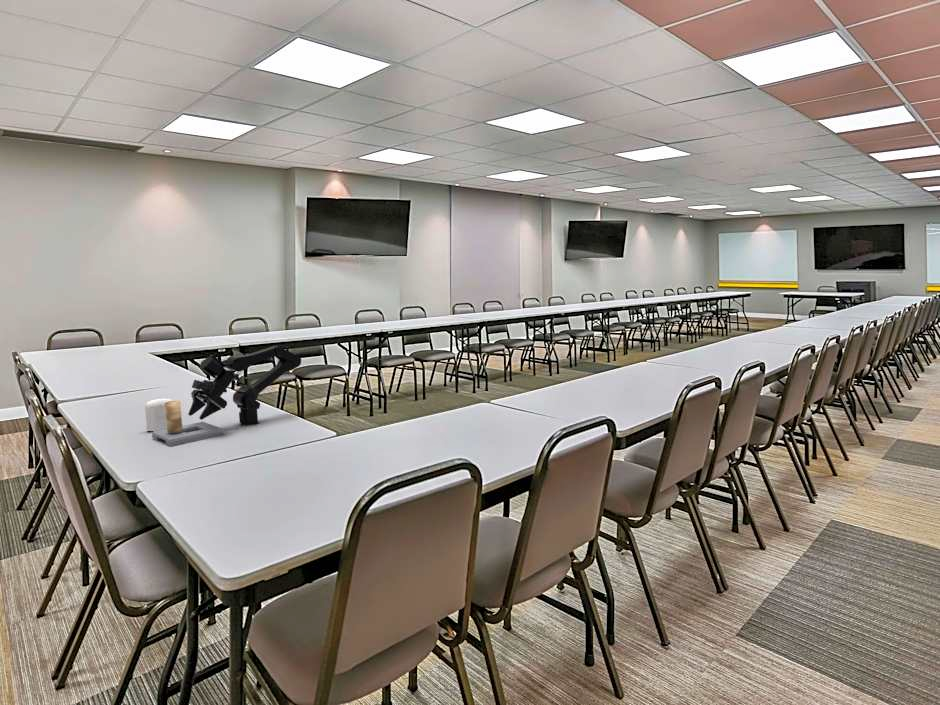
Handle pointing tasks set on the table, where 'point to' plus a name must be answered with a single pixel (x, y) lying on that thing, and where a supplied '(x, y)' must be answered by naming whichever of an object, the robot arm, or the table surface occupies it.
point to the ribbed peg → (173, 417)
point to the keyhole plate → (188, 433)
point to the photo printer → (156, 414)
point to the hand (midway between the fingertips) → (194, 417)
